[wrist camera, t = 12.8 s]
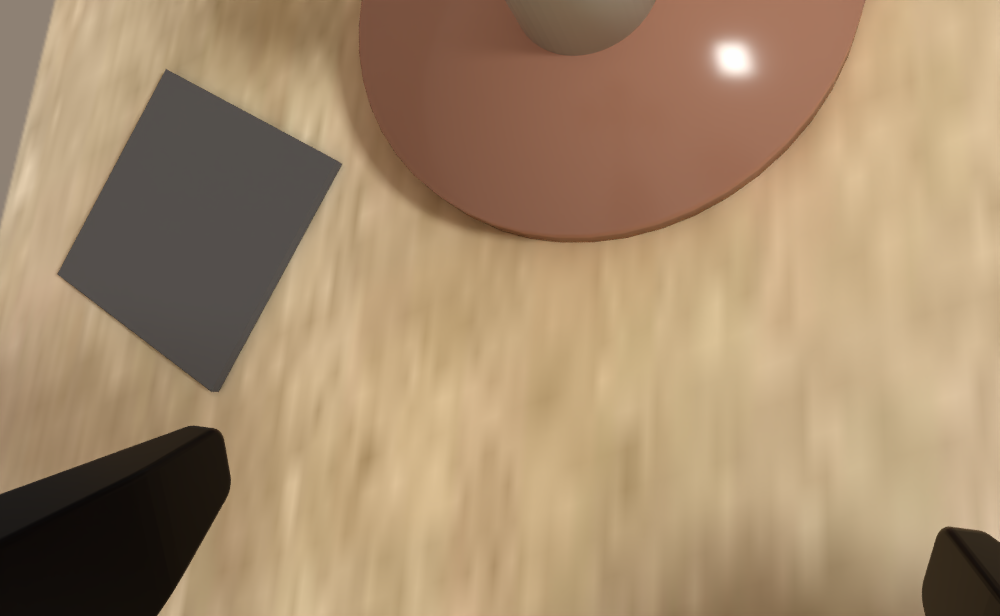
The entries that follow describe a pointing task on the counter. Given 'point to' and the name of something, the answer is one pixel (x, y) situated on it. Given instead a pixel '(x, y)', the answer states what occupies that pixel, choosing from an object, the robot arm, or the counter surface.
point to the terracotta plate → (598, 107)
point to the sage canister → (578, 23)
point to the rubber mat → (197, 226)
